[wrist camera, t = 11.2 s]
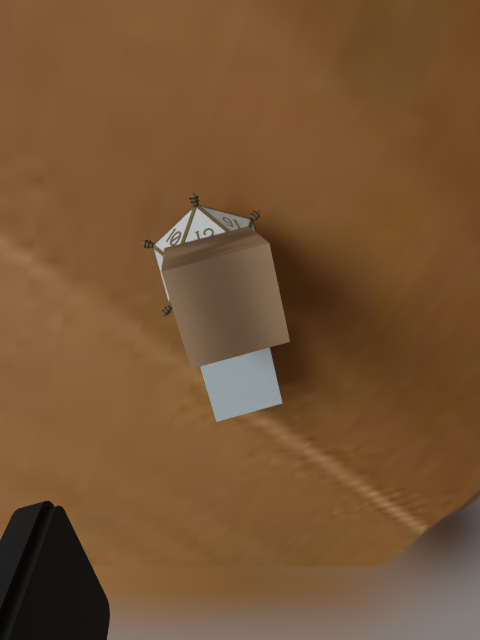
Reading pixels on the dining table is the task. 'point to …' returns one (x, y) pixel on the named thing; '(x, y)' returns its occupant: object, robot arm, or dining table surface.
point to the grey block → (242, 384)
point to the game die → (197, 231)
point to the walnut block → (224, 295)
